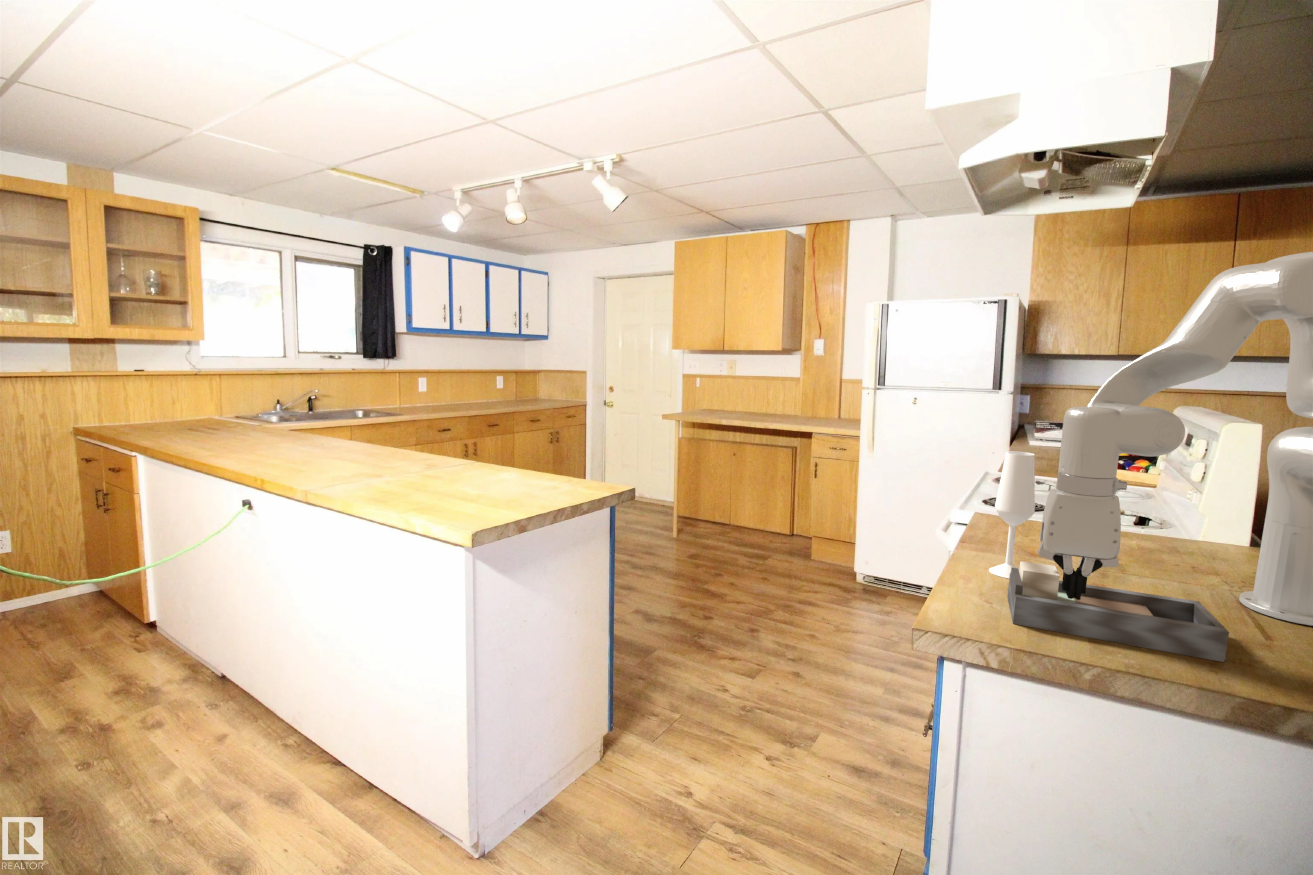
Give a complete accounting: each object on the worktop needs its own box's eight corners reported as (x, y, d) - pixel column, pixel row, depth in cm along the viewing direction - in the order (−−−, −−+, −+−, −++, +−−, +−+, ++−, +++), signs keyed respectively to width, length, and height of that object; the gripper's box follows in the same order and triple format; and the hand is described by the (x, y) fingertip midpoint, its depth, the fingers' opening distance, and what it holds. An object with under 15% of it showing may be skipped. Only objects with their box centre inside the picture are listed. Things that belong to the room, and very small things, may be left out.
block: (1051, 594, 102) (1055, 565, 101) (1056, 605, 97) (1059, 575, 97) (1017, 589, 104) (1020, 561, 103) (1020, 599, 99) (1023, 570, 99)
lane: (1194, 628, 97) (1200, 592, 96) (1224, 662, 86) (1230, 622, 85) (1007, 597, 108) (1010, 564, 107) (1012, 623, 97) (1016, 587, 96)
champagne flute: (992, 564, 125) (1003, 449, 121) (1030, 572, 120) (1043, 453, 117) (985, 573, 120) (996, 453, 116) (1024, 582, 115) (1037, 457, 112)
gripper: (1137, 485, 96) (1123, 596, 98) (1027, 476, 102) (1017, 580, 105) (1151, 495, 89) (1136, 614, 92) (1032, 485, 95) (1021, 596, 98)
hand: (1072, 596), depth 98 cm, fingers closed
